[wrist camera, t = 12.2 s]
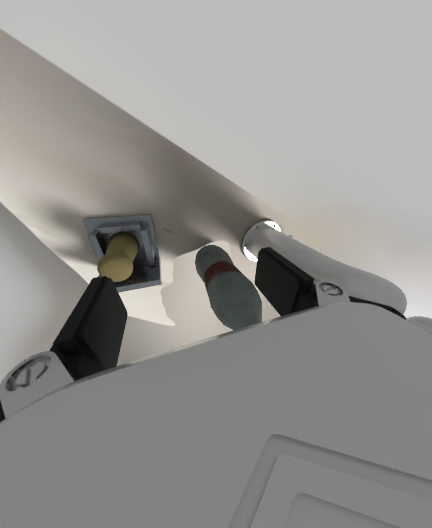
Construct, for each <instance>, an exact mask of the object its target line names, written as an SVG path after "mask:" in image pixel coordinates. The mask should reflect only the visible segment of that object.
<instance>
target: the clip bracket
mask: <svg viewBox="0 0 432 528" xmlns="http://www.w3.org/2000/svg"><path fill="white" fill-rule="evenodd" d="M84 223H85V225H86V227H87V229H88V232H89V235H88V238H89V240H90V242H91V245H92V247H93V249H94V251H95V254H96V256H97V258H98V260H100V259H101V258H102V257H103V256H104V255H106V251H107V246H108V241H109V239H110V237H111V236H112V235H113V234H116V233H119V232H125V233H129V234H131V235H133V236H134V237H135V238H137V240H138V242H139V245H140V248H139V251H138V253H137V255H136V256H135V258H134V260H133V262H132V263H133V272H132V273H131V275H130V276H129V277H128V278H127V279H125V280H123V281H119V282H113V283H114V285H115V287H116V289H117V291H118V292H123V291H129V290H134V289H139V288H145V287H150V286H155V285H161V284H162V283H161V265H160V264H161V262H160V257H159V252H158V247H157V243H156V238H155V233H154V228H153V223H152V219H151V214H146V215H132V216H118V217H104V218H89V219H84ZM98 277H102V276H101V275H100V274H99V276H98Z"/></svg>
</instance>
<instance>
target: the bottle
mask: <svg viewBox="0 0 432 528" xmlns="http://www.w3.org/2000/svg"><path fill="white" fill-rule="evenodd" d="M195 264H196V269H197V273H198V274H199V276H200V277H201V279H202V280H203V281H204V283H205V286H206V290H207V293H208V296H209V300H210V304H211V308H212V309H213V311H214V313H215V314H216V316H217V318H218V319H219V320H220V321H221V322H222V323H223V325H225V326H227V327H229V328H231V329H233V330H237V329H240V328H244V327H247V326H251V325H254V324H257V323H261V322H262V302H261V299H260V296H259V294H258V292H257V290H256V288H255V287H254V285H253V283H252V282H251V281H250V280H249V279H247V278H246V277H245V276H244V275H243V274H242V273H241V272H240V271H239V270H238V269H237V268H236V267H235V266H234V264H233V262H232V260H231V258H230V257H229V255H228V254H227V253H226V252H225V251H224V250H223V249H222V248H220V247H218V246H215V245H208V246H205V247H203V248H201V249H200V250H199V251H198V253H197V255H196V260H195Z"/></svg>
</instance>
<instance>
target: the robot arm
mask: <svg viewBox="0 0 432 528" xmlns="http://www.w3.org/2000/svg"><path fill="white" fill-rule="evenodd" d="M242 249H243V253H244V254H245V256H246V257H247V258H248V259H250V260H252V261H257V267H256V275H255V285H256V286H257V288H258V289H259V290H260V291H261V293H262V294H263V295H264V296H265V297H266V299H267V300H268V301H269V302H270V303H271V305H272V306H273V307H274V308H275V309H276V311H277V312H278V313H279V314H280V315H281V317H278V318H275V319H271V320H268V321H264V322H261V323H257V324H254V325H251V326H247V327H244V328H240V329H237V330H234V331H230V332H227V333H224V334H220V335H217V336H214V337H210V338H207V339H204V340H200V341H197V342H194V343H190V344H187V345H184V346H181V347H178V348H174V349H171V350H168V351H164V352H161V353H158V354H155V355H151V356H148V357H145V358H141V359H138V360H135V361H132V362H129V363H126V364H123V365H119V366H116V365H117V361H118V356H119V352H120V347H121V343H122V338H123V334H124V329H125V324H126V320H127V310H126V308H125V306H124V304H123V302H122V300H121V298H120V296H119V293H118V291H117V289H116V287H115V285H114V283H113V281H112V279H111V278H108V277H107V276H102V277H96V278H93V279H92V280H91V282H90V284H89V286H88V287H87V289H86V290H85V292H84V294H83V295H82V297H81V298H80V300H79V302H78V304H77V305H76V307H75V308H74V310H73V312H72V313H71V315H70V316H69V318H68V320H67V321H66V323H65V325H64V326H63V328H62V329H61V331H60V333H59V335H58V336H57V338H56V339H55V341H54V343H53V346H52V348H51V349H50V351H46V352H41V353H38V354H36V355H33V356H31V357H29V358H28V359H26V360H24V361H23V362H21V363H20V364H18V365H17V366H16V367H15V368H14V369H12V370H11V371H10V372H9V373H8V374H7V375H6V377H5V378H4V379H3V380H2V382H1V384H0V528H432V319H431V318H426V317H410V318H407V319H406V318H405V317H404V315H403V314H404V312H405V309H406V304H407V302H406V297H405V295H404V293H403V292H402V290H401V289H400V288H399V287H397V286H396V285H395V284H393V283H392V282H389V281H388V280H386V279H384V278H382V277H379V276H377V275H374V274H372V273H369V272H366V271H363V270H360V269H357V268H354V267H351V266H349V265H346V264H344V263H341V262H339V261H336V260H334V259H332V258H330V257H328V256H326V255H324V254H322V253H320V252H318V251H316V250H314V249H312V248H310V247H308V246H306V245H304V244H302V243H301V242H299V241H297V240H295V239H293V236H292V235H288V236H287V235H285V234H283V233H282V232H281V229H280V227H279V225H278V224H277V223H275V222H273V221H270V220H263V221H260V222H258V223H256V224H254V225H253V226H252V227H251V228H250V229H249V230H248V231H247V233H246V234H245V236H244V239H243V243H242Z"/></svg>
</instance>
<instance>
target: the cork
mask: <svg viewBox="0 0 432 528" xmlns="http://www.w3.org/2000/svg"><path fill="white" fill-rule="evenodd" d="M139 248H140V245H139V242H138V240H137V238H135V237H134V236H133V235H131V234H129V233H125V232H119V233H116V234H113V235H112V236H111V237H110V239H109V241H108V246H107V251H106V255H104V256H103V257H102V258H101V259H100V260H99V262H98V269H97V270H98V272H99V274H100V275H101V276H107V277H108V278H111V279H112V281H113V282H119V281H123V280H125V279H127V278H128V277H129V276H130V275H131V273H132V272H133V263H132V262H133V260H134V258H135V256H136V255H137V253H138V251H139Z"/></svg>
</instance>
